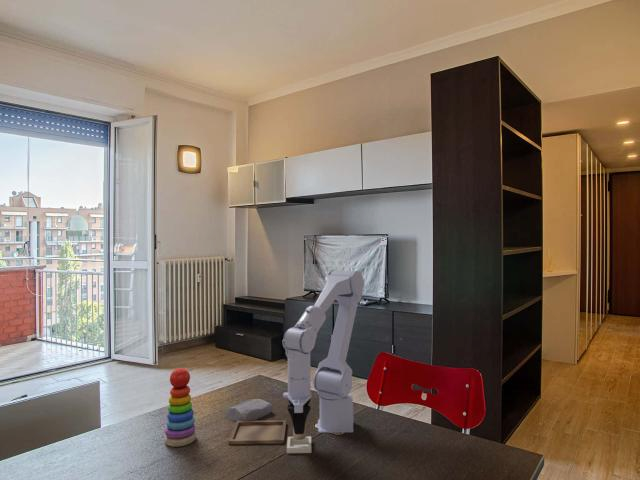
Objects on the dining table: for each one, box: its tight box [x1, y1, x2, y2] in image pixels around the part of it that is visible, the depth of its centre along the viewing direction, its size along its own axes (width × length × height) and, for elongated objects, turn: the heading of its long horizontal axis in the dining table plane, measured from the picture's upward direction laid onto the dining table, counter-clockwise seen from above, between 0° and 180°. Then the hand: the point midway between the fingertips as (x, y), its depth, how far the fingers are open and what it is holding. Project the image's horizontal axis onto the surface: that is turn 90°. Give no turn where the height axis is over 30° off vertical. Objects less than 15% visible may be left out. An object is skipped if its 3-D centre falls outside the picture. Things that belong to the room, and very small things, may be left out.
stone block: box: [225, 398, 273, 422], centre depth 129 cm, size 12×5×10 cm
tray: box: [228, 419, 287, 446], centre depth 116 cm, size 14×12×1 cm
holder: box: [286, 435, 312, 454], centre depth 108 cm, size 6×6×2 cm
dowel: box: [292, 422, 307, 440], centre depth 108 cm, size 3×3×6 cm
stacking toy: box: [164, 367, 197, 448], centre depth 112 cm, size 8×8×19 cm
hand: (299, 430), depth 108 cm, fingers closed on dowel, 3 cm apart
